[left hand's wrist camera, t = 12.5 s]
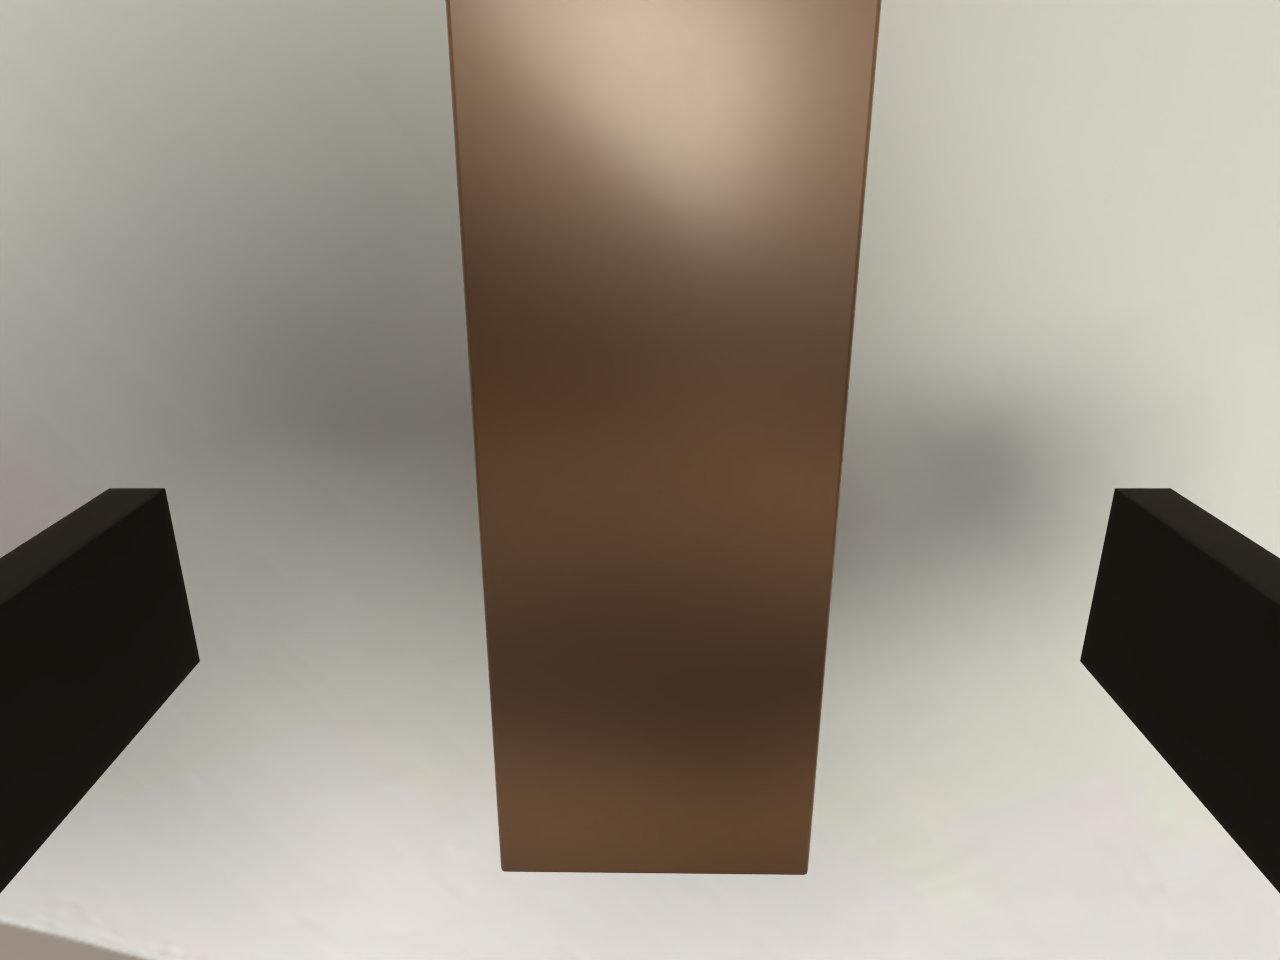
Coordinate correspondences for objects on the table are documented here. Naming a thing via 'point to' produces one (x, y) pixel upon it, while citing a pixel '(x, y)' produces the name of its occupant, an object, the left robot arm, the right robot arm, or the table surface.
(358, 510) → the table surface
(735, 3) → the post
